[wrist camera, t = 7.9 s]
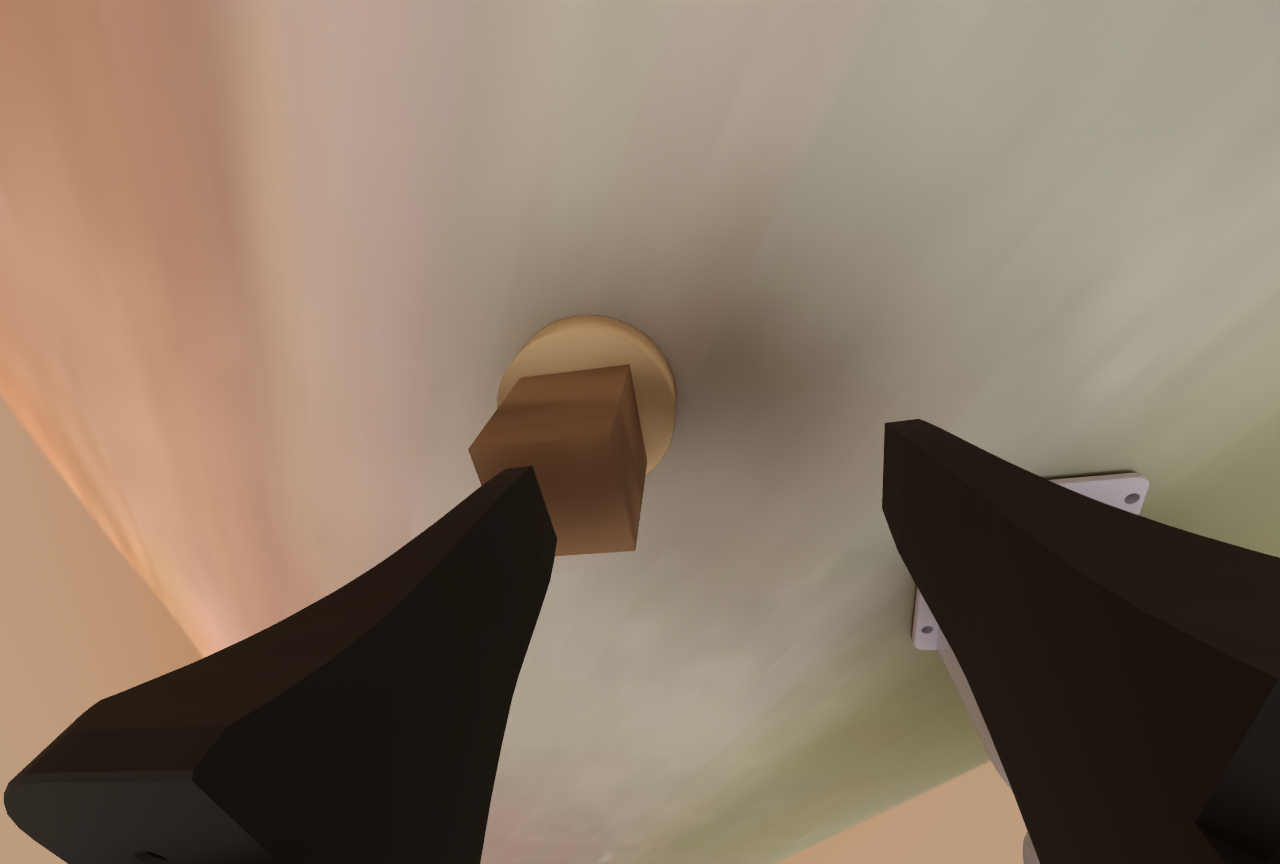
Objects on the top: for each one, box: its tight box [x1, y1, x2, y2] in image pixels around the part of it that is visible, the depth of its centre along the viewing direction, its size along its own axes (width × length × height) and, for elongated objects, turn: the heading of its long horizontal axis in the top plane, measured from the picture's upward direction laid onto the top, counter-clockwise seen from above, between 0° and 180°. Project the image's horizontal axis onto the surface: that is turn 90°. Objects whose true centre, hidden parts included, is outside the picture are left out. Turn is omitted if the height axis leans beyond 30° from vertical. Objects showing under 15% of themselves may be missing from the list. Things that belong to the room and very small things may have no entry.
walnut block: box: [468, 364, 647, 556], centre depth 17 cm, size 4×4×5 cm
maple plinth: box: [497, 315, 676, 475], centre depth 20 cm, size 7×7×2 cm
